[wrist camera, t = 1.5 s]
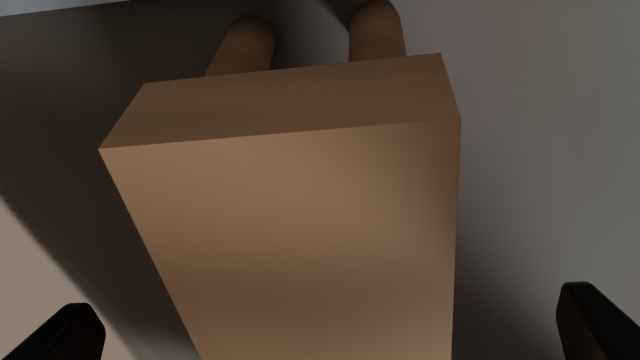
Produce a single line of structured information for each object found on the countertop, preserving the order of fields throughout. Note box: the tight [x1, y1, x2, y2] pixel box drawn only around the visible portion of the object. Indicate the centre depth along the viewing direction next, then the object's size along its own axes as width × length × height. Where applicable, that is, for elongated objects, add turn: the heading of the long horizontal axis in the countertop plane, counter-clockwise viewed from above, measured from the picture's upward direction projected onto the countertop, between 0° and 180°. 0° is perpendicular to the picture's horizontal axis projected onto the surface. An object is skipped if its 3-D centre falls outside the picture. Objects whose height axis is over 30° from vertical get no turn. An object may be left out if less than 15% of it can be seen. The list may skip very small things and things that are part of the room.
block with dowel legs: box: [98, 1, 461, 360], centre depth 12 cm, size 8×5×6 cm, turn 8°
